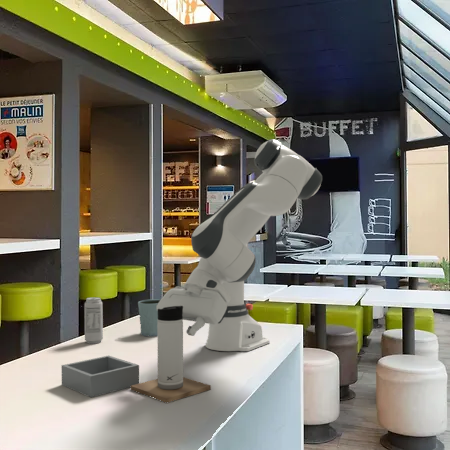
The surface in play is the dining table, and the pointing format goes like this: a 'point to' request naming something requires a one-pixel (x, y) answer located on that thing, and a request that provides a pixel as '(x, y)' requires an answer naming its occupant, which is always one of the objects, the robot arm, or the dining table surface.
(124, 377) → the crate
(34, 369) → the dining table surface
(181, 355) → the travel mug
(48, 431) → the dining table surface
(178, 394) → the serving board
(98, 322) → the energy drink can
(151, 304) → the teal cup
